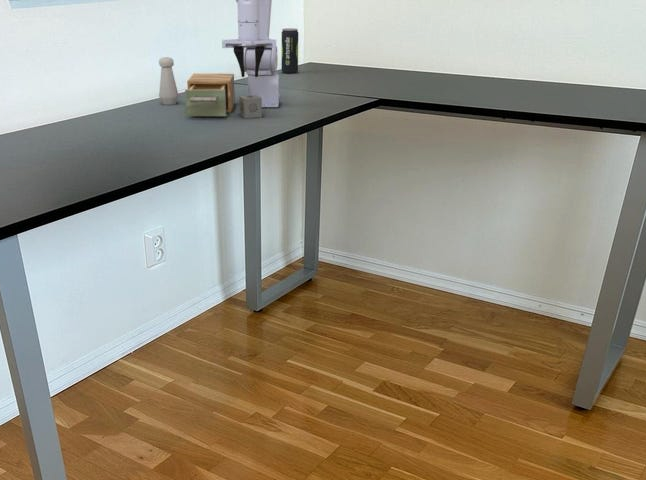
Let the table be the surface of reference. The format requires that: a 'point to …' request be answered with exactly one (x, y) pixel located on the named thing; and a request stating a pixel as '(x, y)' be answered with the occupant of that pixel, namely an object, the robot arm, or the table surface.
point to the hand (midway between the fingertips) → (249, 76)
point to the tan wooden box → (216, 79)
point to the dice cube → (250, 106)
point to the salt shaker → (167, 82)
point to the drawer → (206, 100)
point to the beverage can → (289, 50)
